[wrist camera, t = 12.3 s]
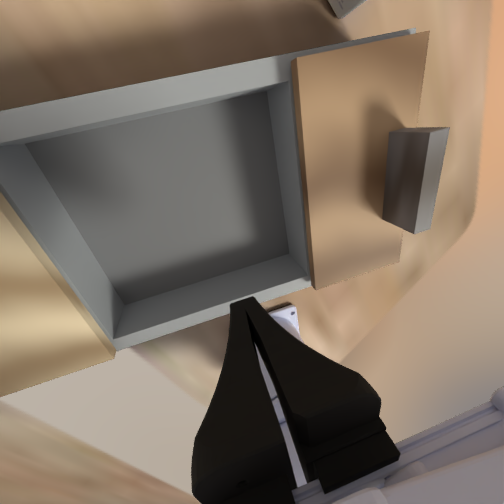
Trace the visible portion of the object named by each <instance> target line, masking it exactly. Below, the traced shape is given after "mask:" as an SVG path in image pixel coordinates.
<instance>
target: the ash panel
mask: <svg viewBox="0 0 504 504" xmlns="http://www.w3.org/2000/svg"><path fill="white" fill-rule="evenodd" d="M115 353H116V349H115V347H114V346H113V344H112V343H111V342H110V340H109V339H108V338H107V336H106V335H105V334H104V332H103V331H102V329H101V328H100V327H99V325H98V324H97V323H96V321H95V320H94V319H93V317H92V316H91V314H90V313H89V312H88V310H87V309H86V308H85V306H84V305H83V304H82V302H81V301H80V299H79V298H78V297H77V295H76V294H75V293H74V291H73V290H72V289H71V287H70V286H69V284H68V283H67V282H66V280H65V279H64V278H63V276H62V275H61V274H60V272H59V271H58V269H57V268H56V267H55V265H54V264H53V263H52V261H51V260H50V259H49V257H48V256H47V254H46V253H45V252H44V250H43V249H42V248H41V246H40V245H39V244H38V242H37V241H36V239H35V238H34V237H33V235H32V234H31V233H30V231H29V230H28V229H27V227H26V226H25V224H24V223H23V222H22V220H21V219H20V218H19V216H18V215H17V214H16V212H15V211H14V209H13V208H12V207H11V205H10V204H9V203H8V201H7V200H6V199H5V197H4V196H3V194H2V193H1V192H0V397H2V396H5V395H8V394H11V393H14V392H17V391H20V390H23V389H26V388H29V387H32V386H35V385H38V384H41V383H43V382H46V381H49V380H52V379H55V378H58V377H61V376H64V375H67V374H70V373H73V372H76V371H79V370H82V369H85V368H88V367H91V366H94V365H97V364H99V363H103V362H106V361H108V360H111V359H114V357H115Z"/></svg>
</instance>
